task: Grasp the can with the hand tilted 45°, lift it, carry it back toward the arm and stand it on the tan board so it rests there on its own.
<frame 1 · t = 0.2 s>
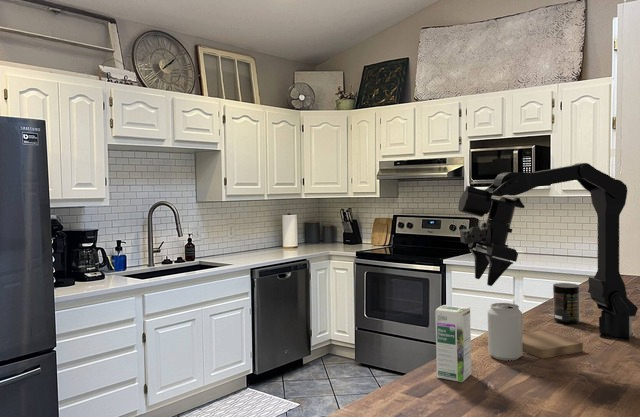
hand: (483, 282, 132), 15 cm above the countertop, tool tilted 15°, fingers open, 9 cm apart
supplement container: (566, 322, 149), on the countertop
can: (505, 357, 122), on the countertop
tan board: (543, 347, 127), on the countertop
syrup box: (454, 377, 111), on the countertop
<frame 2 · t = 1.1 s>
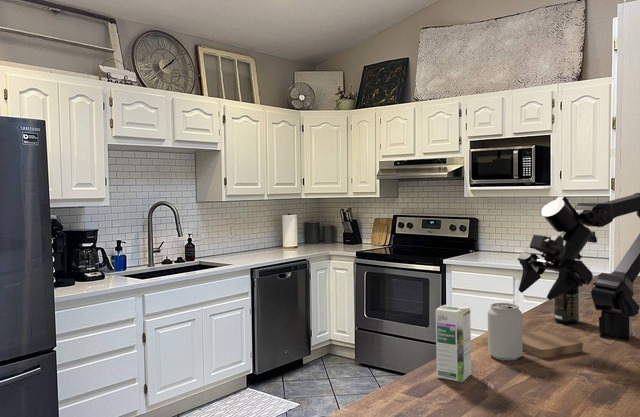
hand: (533, 294, 124), 13 cm above the countertop, tool tilted 45°, fingers open, 9 cm apart
nothing on the countertop moved.
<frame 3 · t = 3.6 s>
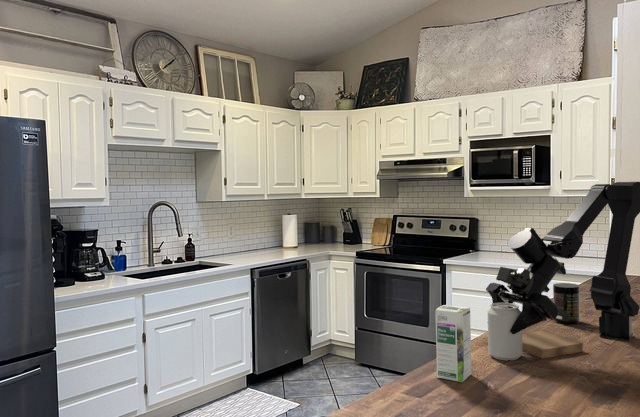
hand: (499, 328, 121), 7 cm above the countertop, tool tilted 45°, fingers closed on can, 7 cm apart
can: (505, 357, 122), on the countertop, touching gripper
everything else where it was.
when the fingers open (9 cm above the countertop, at t = 8.8 s): can stays where it is, resting on tan board.
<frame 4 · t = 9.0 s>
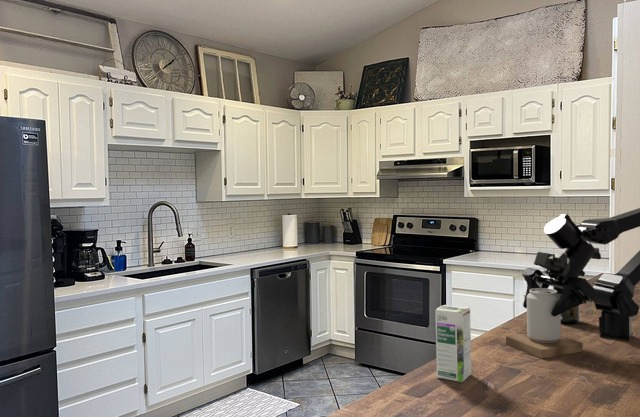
hand: (538, 311, 126), 9 cm above the countertop, tool tilted 45°, fingers open, 9 cm apart
can: (543, 340, 127), point 2 cm above the countertop, touching tan board
everything else where it was.
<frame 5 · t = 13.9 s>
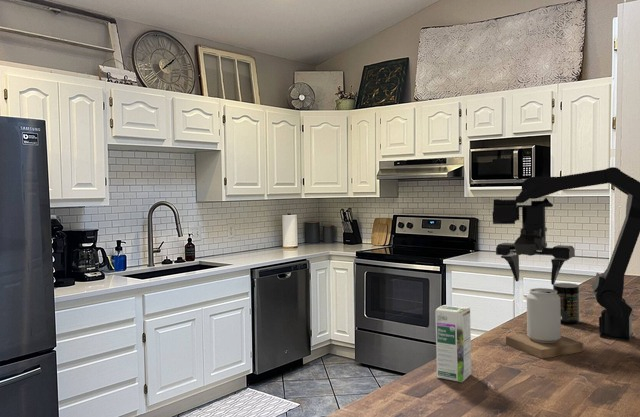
hand: (534, 282, 140), 13 cm above the countertop, tool pointing down, fingers open, 9 cm apart
nothing on the countertop moved.
at the end: can inside the target area on the tan board (0.2 cm from its centre), point 1.8 cm above the tan board's base; can tilted 0°; the gripper is holding nothing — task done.
